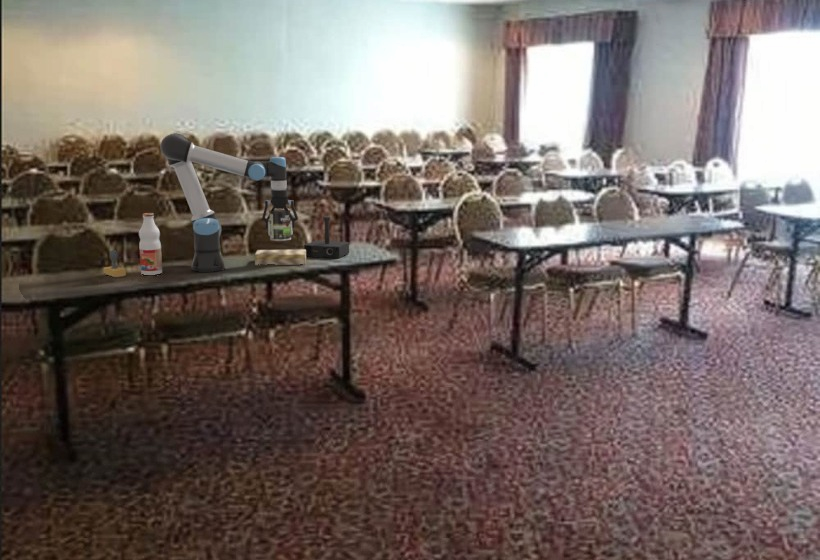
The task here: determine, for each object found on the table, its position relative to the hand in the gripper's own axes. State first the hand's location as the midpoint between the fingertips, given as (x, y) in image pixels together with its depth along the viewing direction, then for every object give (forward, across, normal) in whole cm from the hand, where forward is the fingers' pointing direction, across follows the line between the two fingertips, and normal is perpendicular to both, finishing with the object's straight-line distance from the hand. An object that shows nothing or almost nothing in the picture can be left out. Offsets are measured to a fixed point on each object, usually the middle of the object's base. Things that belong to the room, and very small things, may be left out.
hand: (280, 234), depth 427 cm
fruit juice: (+14, -57, -26) cm, 64 cm away
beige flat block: (+14, 0, 0) cm, 14 cm away
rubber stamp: (+14, -73, -28) cm, 80 cm away
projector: (+14, +22, +17) cm, 31 cm away
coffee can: (+2, 0, 0) cm, 2 cm away
